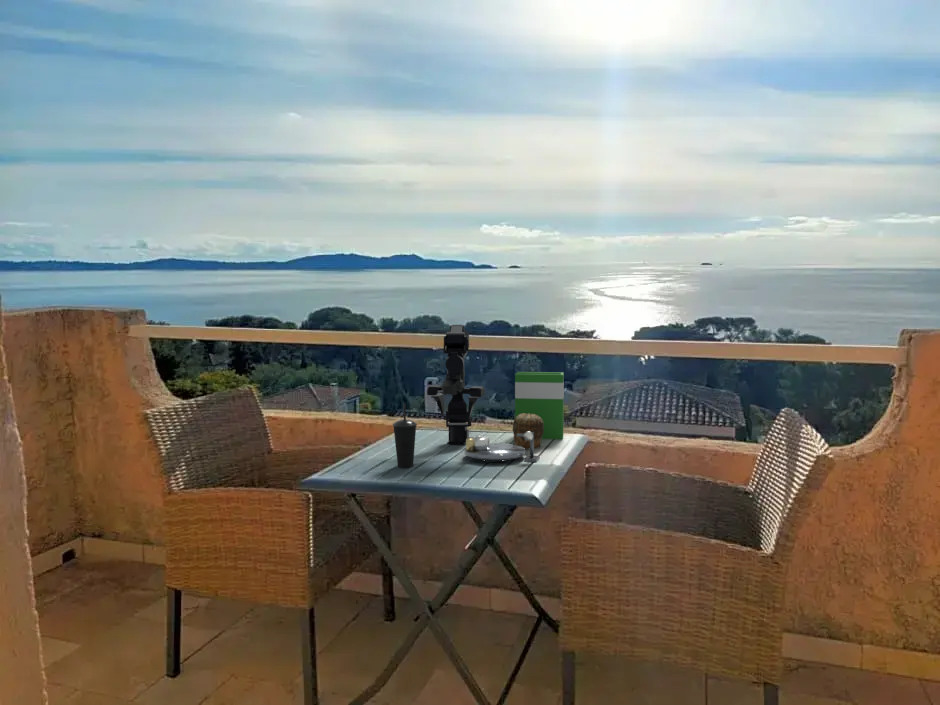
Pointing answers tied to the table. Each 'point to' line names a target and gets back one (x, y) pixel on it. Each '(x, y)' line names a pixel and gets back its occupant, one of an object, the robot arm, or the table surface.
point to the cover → (480, 443)
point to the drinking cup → (405, 441)
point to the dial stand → (530, 437)
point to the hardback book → (542, 399)
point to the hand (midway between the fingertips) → (456, 416)
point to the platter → (494, 451)
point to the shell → (528, 429)
